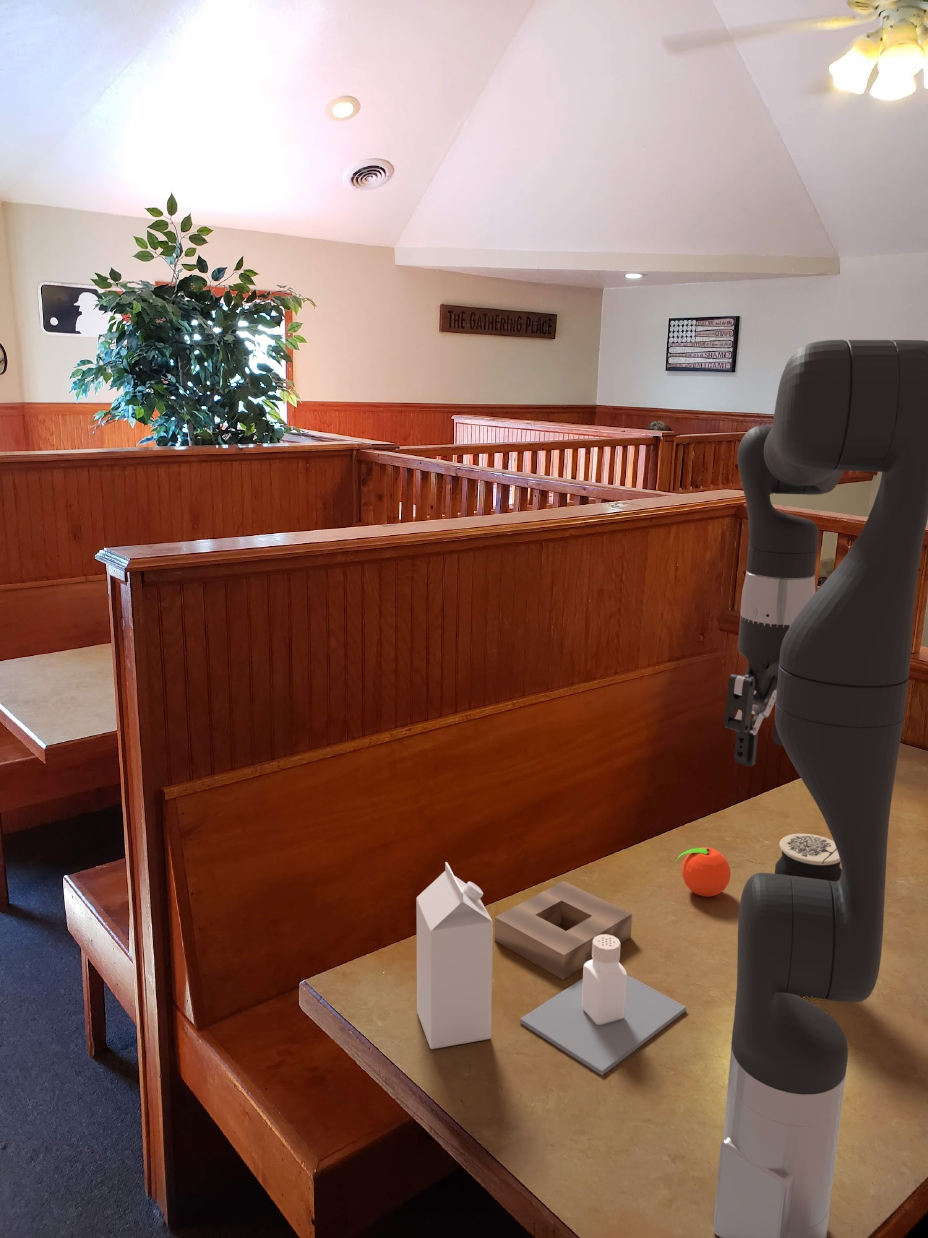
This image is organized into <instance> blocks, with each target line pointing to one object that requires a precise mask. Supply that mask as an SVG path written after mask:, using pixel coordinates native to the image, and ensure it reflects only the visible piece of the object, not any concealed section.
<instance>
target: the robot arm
mask: <svg viewBox="0 0 928 1238" xmlns="http://www.w3.org/2000/svg"><path fill="white" fill-rule="evenodd" d="M736 458H737V459H736V460H737V466H738V473H739V477H740V483H741V487H742V489H743V490H742V491H743V495H744V499H745V503H746V504H745V505H746V511H747V517H748V542H747V543H748V547H747V557H746V558H747V559H746V571H745V578H744V582H743V586H742V593H741V602H740V603H741V604H740V615H739V616H740V617H739V628H738V629H739V630H738V642H737V650H738V653H739V654H740V655H742V656H743V657H744V658H746V660H747V662H748V663H747V667H746V671H745V673H744V675H743V674H742V675H739V674H735V673H731V674H730V676H729V678H728V684H727V694H726V700H725V703H726V704H725V711H724V712H725V713H724V720H723V721H724V722H723V725H724V728H725V729H729V730H733V731H735V743H734V755H733V756H734V757H733V759H734V761H735V763H736V764H739V765H742V766H745V767H749V768H750V767H752V766H754V765H755V764H756V760H757V751H758V750H757V748H758V739H759V738H758V737H759V734H758V731H759V729H760V728H761V725H762V722H763V721H764V718H768V717H769V716H770V714H771V712H772V709H773V708H774V707H775V710H774V728H773V739H772V740H773V742H774V744H775V745H778V746H781V747H783V748H784V750H785V752H786V754H787V757H788V758H789V760H790V762H791V763H792V765H793V768H794V769H795V771H796V772H797V774H798V775H799V777H800V779H801V781H802V782H803V784H804V786H805V787H806V789H807V790H808V792H809V794H810V795H811V796H812V799H813V800H814V802H815V804H816V805H817V807H818V809H819V811H820V813H821V815H822V817H823V819H824V822H825V823H826V826H827V828H828V831H829V833H830V835H831V838H832V841H834V843H835V845H836V848H837V851H838V854H839V857H840V861H841V863H840V868H841V877H840V879H839V880H838V881H827V880H820V879H812V878H805V877H797V876H789V875H781V874H775V873H771V872H757V873H754V874H752V875H751V876H750V877H749V878H748V880H747V881H746V883H745V885H744V886H743V890H742V893H741V897H740V903H739V908H738V920H737V921H738V922H737V923H738V925H737V955H736V957H737V961H736V962H737V965H736V968H737V969H736V992H735V993H736V994H735V1004H734V1015H733V1016H734V1017H733V1025H732V1033H731V1042H730V1043H731V1044H730V1045H731V1046H730V1055H729V1056H730V1058H729V1069H728V1076H727V1077H728V1078H727V1079H728V1080H727V1089H726V1102H725V1112H724V1113H725V1115H724V1126H723V1136H722V1138H723V1139H722V1141H721V1142H720V1145H719V1156H718V1157H719V1159H718V1167H717V1168H718V1169H717V1180H716V1182H717V1183H716V1191H715V1205H714V1215H713V1226H712V1227H713V1229H712V1231H713V1233H714V1234H715V1235H717V1236H718V1237H719V1238H827V1234H828V1227H829V1226H828V1225H829V1220H830V1219H829V1218H830V1210H831V1199H832V1192H833V1184H834V1183H833V1182H834V1175H835V1174H834V1173H835V1166H836V1159H837V1158H836V1157H837V1152H838V1151H837V1150H838V1149H837V1148H838V1142H839V1141H838V1140H839V1133H840V1124H841V1116H842V1107H843V1100H844V1093H845V1092H844V1091H845V1084H846V1076H847V1075H846V1074H847V1067H848V1058H849V1044H848V1041H847V1037H846V1034H845V1032H844V1031H843V1029H842V1027H841V1026H840V1024H839V1023H838V1022H837V1021H836V1020H835V1019H834V1018H833V1017H832V1016H831V1015H830V1014H829V1013H827V1012H826V1011H825V1010H823V1009H822V1008H820V1007H819V1006H817V1005H816V1004H814V1003H812V1002H810V1001H809V1000H806V999H804V998H802V997H801V996H803V997H810V998H814V999H815V998H816V999H822V1000H828V1001H833V1002H834V1001H835V1002H842V1003H843V1002H845V1003H861V1002H863V1001H865V1000H867V999H868V998H869V997H870V996H871V994H872V993H873V991H874V989H875V987H876V983H877V980H878V977H879V972H880V967H881V958H882V952H883V951H882V949H883V935H884V920H885V919H884V918H885V897H886V876H887V875H886V872H887V857H888V854H887V853H888V836H889V823H890V815H891V808H892V807H891V805H892V797H893V793H894V784H895V777H896V771H897V765H898V759H899V752H900V748H901V747H900V745H901V739H902V735H903V734H902V732H903V726H904V721H905V711H906V704H907V696H908V688H909V687H908V685H909V677H910V670H911V669H910V667H911V656H912V643H913V642H912V641H913V629H914V620H915V619H914V618H915V609H916V608H915V607H916V599H917V589H918V578H919V570H920V563H921V558H922V557H921V555H922V550H923V545H924V544H923V543H924V538H925V533H926V528H927V521H928V340H925V339H827V340H818V341H814V342H813V341H812V342H811V343H807V344H805V345H802V346H801V347H799V348H798V349H796V350H795V351H794V353H793V354H792V355H791V356H790V357H789V359H788V360H787V362H786V363H785V367H784V369H783V372H782V374H781V377H780V381H779V385H778V390H777V396H776V400H775V406H774V413H773V423H772V425H758V426H753V427H752V428H750V429H749V430H747V432H746V433H745V434H744V435H743V437H742V438H741V441H740V443H739V445H738V449H737V456H736ZM843 472H865V473H866V472H870V473H873V472H874V473H875V472H878V473H881V476H880V482H879V486H878V491H877V493H876V496H875V499H874V502H873V505H872V508H871V509H870V511H869V515H868V517H867V519H866V521H865V523H864V526H863V528H862V530H861V531H860V532H859V534H858V536H857V538H856V540H855V541H854V543H853V544H852V546H851V547H850V549H849V550H848V551H847V554H846V555H845V556H843V559H842V560H841V562H839V564H838V565H837V566H836V567H835V569H834V570H833V571H832V573H831V574H830V575H829V576H828V577H827V579H826V580H825V581H824V582H823V583H822V584H821V585H820V587H819V588H818V589H817V590H816V584H815V583H816V582H815V579H816V575H815V574H816V565H817V558H818V557H817V556H818V546H819V528H818V525H817V524H816V522H814V521H813V520H811V519H808V518H805V517H802V516H797V515H793V514H788V513H785V512H783V511H779V510H778V509H776V508H775V507H774V505H773V503H772V500H771V495H772V494H775V495H776V494H779V495H805V496H807V495H808V496H809V495H811V496H814V495H817V496H818V495H823V494H828V493H830V492H832V491H833V490H835V488H836V486H838V484H839V482H840V480H841V477H842V475H843ZM736 710H738V711H737V713H736ZM735 714H736V715H735ZM752 715H753V716H752Z"/></svg>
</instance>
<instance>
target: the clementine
mask: <svg viewBox="0 0 928 1238" xmlns="http://www.w3.org/2000/svg"><path fill="white" fill-rule="evenodd" d="M684 855H686V857H685V858H684V859H683V863H682V867H681V875H682V879H683V881H684V884H685V885H686V887H687V888H688V889H689V891H691V892H692V893H694V894H695V895H698V896H700V897H709V898H710V897H714V896H717V895H719V894H721V893H723V892H724V891H725V889H726V888H727V887H728V885H729V883H730V881H731V880H730V879H731V867H730V865H729V862H728V860H727V858H726V857H725V856H724V855H723V854H722V853H721V852H719V851H718V850H717V849H714V848H712V847H711V848H710V847H705V846H704V847H695V848H694V847H693V848H691V849H688V850H685V851H684V852H682V853H680V855H678V857H677V858H676V860H675V861H674V863H676V862H677V860H678V859H679V858H681V857H682V856H684Z"/></svg>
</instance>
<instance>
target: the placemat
mask: <svg viewBox="0 0 928 1238" xmlns="http://www.w3.org/2000/svg"><path fill="white" fill-rule="evenodd" d="M582 990H583V977H582V978H581V979H579V980H578V981H576V982H574V983H573V984H572V985H570V986H569V987H567V988H565V989H564V990H562V991H561V992H559V993H557V994H556V995H555V996H553V997H552V998H550V999H548V1000H547V1001H545V1002H544V1003H542V1004H541V1005H539V1006H537V1007H536V1008H534V1009H533V1010H531V1011H530V1012H528V1013H527V1014H525V1015H524V1016H522V1017H521V1018H520V1020H519V1021H520V1022H519V1023H520V1024H521V1025H522V1026H524V1027H525V1028H527V1029H529V1030H530V1031H532V1032H534V1033H535V1034H537V1035H538V1036H540V1038H542V1039H544V1040H546V1041H547V1042H549V1043H550V1044H552V1045H554V1046H555V1047H557V1048H558V1049H559V1050H561V1051H563V1052H565V1053H566V1054H567V1055H569V1056H571V1057H572V1058H574V1059H575V1060H576V1061H579V1062H580V1063H582V1064H583V1065H584V1066H586V1067H587V1068H589V1069H591V1070H593V1071H594V1072H596V1073H597V1074H599V1076H604V1075H605V1074H606V1073H608V1072H609V1071H611V1069H613V1068H614V1067H615V1066H617V1065H618V1064H619V1063H620V1062H622V1061H623V1060H624V1059H626V1058H627V1057H628V1056H630V1055H631V1054H632V1053H634V1052H635V1051H636V1050H638V1049H639V1048H640V1047H641V1046H642V1045H644V1044H645V1043H647V1042H648V1041H649V1040H650V1039H651V1038H653V1037H654V1036H655V1035H657V1034H658V1033H659V1032H661V1031H662V1030H664V1029H665V1028H666V1027H667V1026H669V1025H670V1024H671V1023H673V1022H674V1021H675V1020H676V1019H678V1018H679V1017H680V1016H682V1015H683V1014H684V1013H686V1012H687V1006H686V1005H685V1004H682V1003H680V1002H678V1001H677V1000H675V999H673V998H672V997H669V996H668V995H665V994H664V993H661V992H660V991H658V990H656V989H654V988H652V987H651V986H649V985H647V984H645V983H643V982H641V981H639V980H637V979H636V978H634V977H632V976H631V975H629V974H627V988H626V1007H625V1016H624V1018H622V1019H620V1020H617V1021H613V1022H610V1023H606V1024H603V1025H597V1024H596V1023H595V1022H594V1021H593V1020H592V1019H591V1018H590V1016H589V1015H588V1014H587V1013H586V1012H585V1011H584V1009H583V1007H582Z"/></svg>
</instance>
